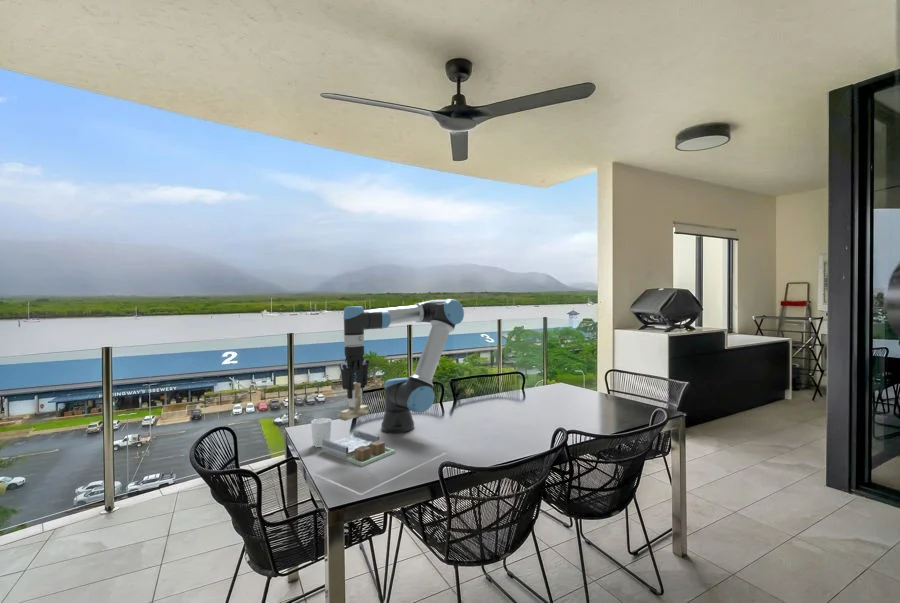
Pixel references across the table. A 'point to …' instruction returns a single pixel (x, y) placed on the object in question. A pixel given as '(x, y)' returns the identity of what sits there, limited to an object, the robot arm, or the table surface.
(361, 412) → the light wood block tower
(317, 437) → the white cup
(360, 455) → the walnut cube
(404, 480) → the table surface
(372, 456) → the tray
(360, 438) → the bed
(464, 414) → the table surface
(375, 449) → the walnut cube
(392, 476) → the table surface
